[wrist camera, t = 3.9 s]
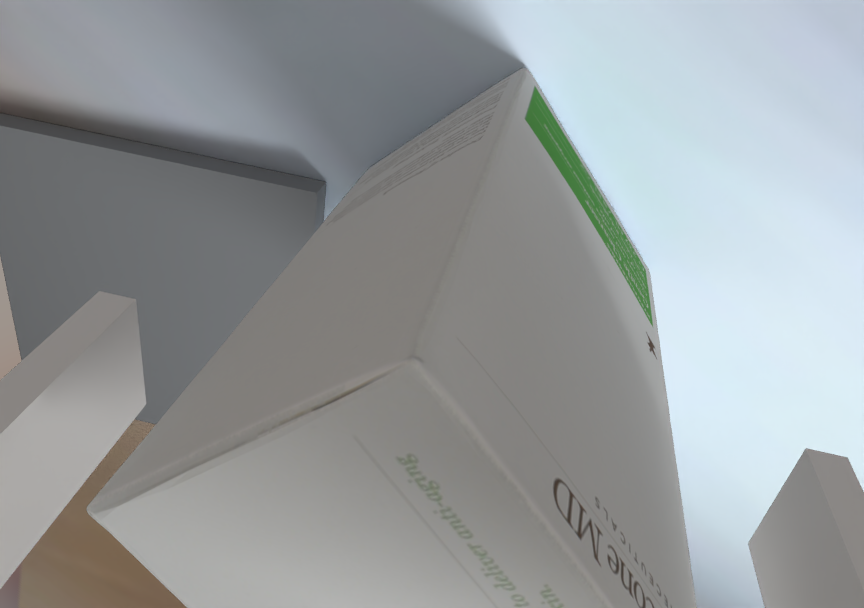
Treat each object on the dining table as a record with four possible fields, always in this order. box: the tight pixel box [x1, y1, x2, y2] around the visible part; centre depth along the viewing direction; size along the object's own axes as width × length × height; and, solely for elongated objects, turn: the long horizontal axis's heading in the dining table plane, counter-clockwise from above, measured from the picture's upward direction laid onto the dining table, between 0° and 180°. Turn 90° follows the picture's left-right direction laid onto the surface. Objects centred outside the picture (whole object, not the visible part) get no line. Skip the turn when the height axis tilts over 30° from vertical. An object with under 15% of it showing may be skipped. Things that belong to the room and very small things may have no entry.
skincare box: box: [87, 68, 697, 608], centre depth 17 cm, size 8×7×16 cm
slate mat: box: [0, 113, 326, 424], centre depth 27 cm, size 12×12×1 cm
